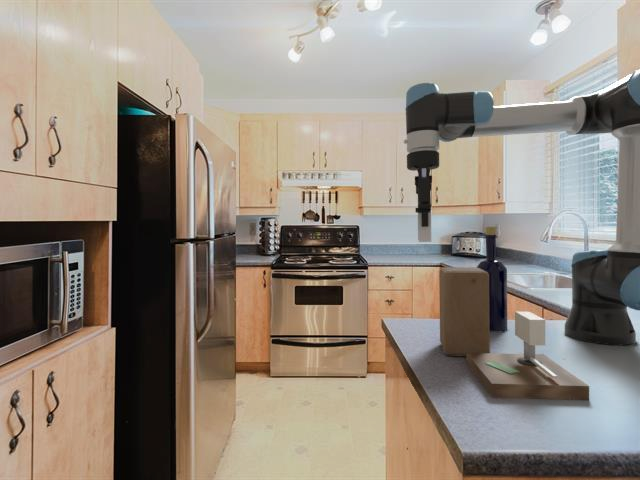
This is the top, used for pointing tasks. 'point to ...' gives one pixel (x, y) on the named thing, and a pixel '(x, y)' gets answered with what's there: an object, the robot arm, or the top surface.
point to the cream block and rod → (531, 336)
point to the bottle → (495, 284)
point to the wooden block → (464, 310)
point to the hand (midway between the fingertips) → (424, 240)
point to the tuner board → (525, 377)
